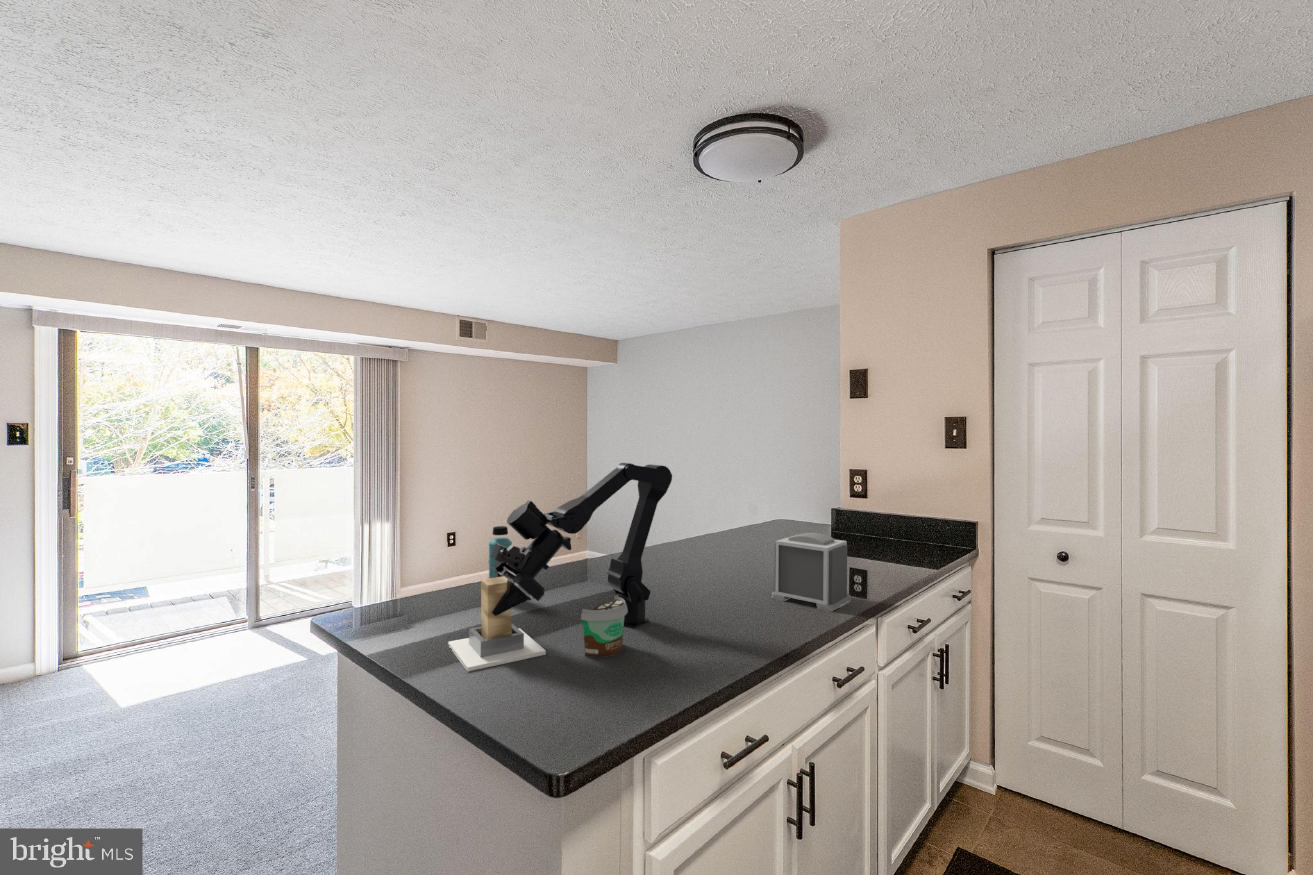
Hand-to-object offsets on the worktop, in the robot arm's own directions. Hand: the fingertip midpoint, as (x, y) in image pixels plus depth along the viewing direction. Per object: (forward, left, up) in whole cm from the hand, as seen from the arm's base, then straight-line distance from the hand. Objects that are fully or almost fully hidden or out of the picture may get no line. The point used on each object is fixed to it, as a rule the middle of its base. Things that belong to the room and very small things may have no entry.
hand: (489, 611), depth 121 cm
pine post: (0, -1, -7) cm, 7 cm away
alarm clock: (-41, -77, -9) cm, 88 cm away
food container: (-21, -15, -9) cm, 27 cm away
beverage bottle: (+29, -26, -9) cm, 40 cm away
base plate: (-1, -1, -8) cm, 9 cm away
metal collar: (-1, -1, -8) cm, 9 cm away
